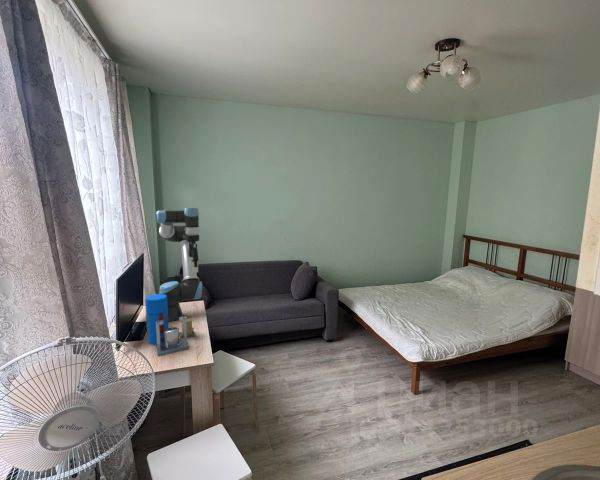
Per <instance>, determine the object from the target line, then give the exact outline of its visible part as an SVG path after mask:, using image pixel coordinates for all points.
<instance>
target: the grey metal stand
mask: <svg viewBox="0 0 600 480" xmlns="http://www.w3.org/2000/svg"><path fill="white" fill-rule="evenodd" d="M186 317H187V316H182V317H179V319H178V320H179V322H181V321H183V331H184V338H180V336H179V332H180V328H179V327H178V326H177V327H176V326H175V327H169V328H168V329H166V330H165V331H164V332H165V341H164V342H160V332H159V325H161V324H163V320H160V321H156V335H157V343H156V345H155V348H156V349H155V350H156V355H157V356H156V357H159V356H164V355H169V354H174V353H178V352H184V351H188V350H190V346H189V345H190V344H189V342H188V341H189V340H188V338H187V322H186Z"/></svg>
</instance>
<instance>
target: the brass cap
mask: <svg viewBox="0 0 600 480" xmlns="http://www.w3.org/2000/svg"><path fill="white" fill-rule="evenodd" d="M186 322H187V336H188V335H192V331H193V330H194V331H195V327H193V317H191V316H186ZM180 323H181V332H182V334H180V336H179V338H180V337H184V331H183V321H180Z"/></svg>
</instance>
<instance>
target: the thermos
mask: <svg viewBox="0 0 600 480" xmlns="http://www.w3.org/2000/svg"><path fill="white" fill-rule="evenodd" d="M145 319H146V335H147V342H148V344H149V345H154V346H156V343H157V335H156V321H160V320H163V324H161V325H159V332H160V342H164V341H165V332H164V331H165V330H166V329H168V328H170V326H169V322H168V305H167V296H166V295H164V294H159V293H155V294H151V295H148V296H146V297H145Z"/></svg>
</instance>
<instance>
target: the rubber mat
mask: <svg viewBox="0 0 600 480" xmlns="http://www.w3.org/2000/svg"><path fill="white" fill-rule="evenodd" d="M180 334H182V331H179V339H180V338H184V337H180ZM191 338H196V333H195V329H194V330H193V331H192V335H188V336H187V339H191Z"/></svg>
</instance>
